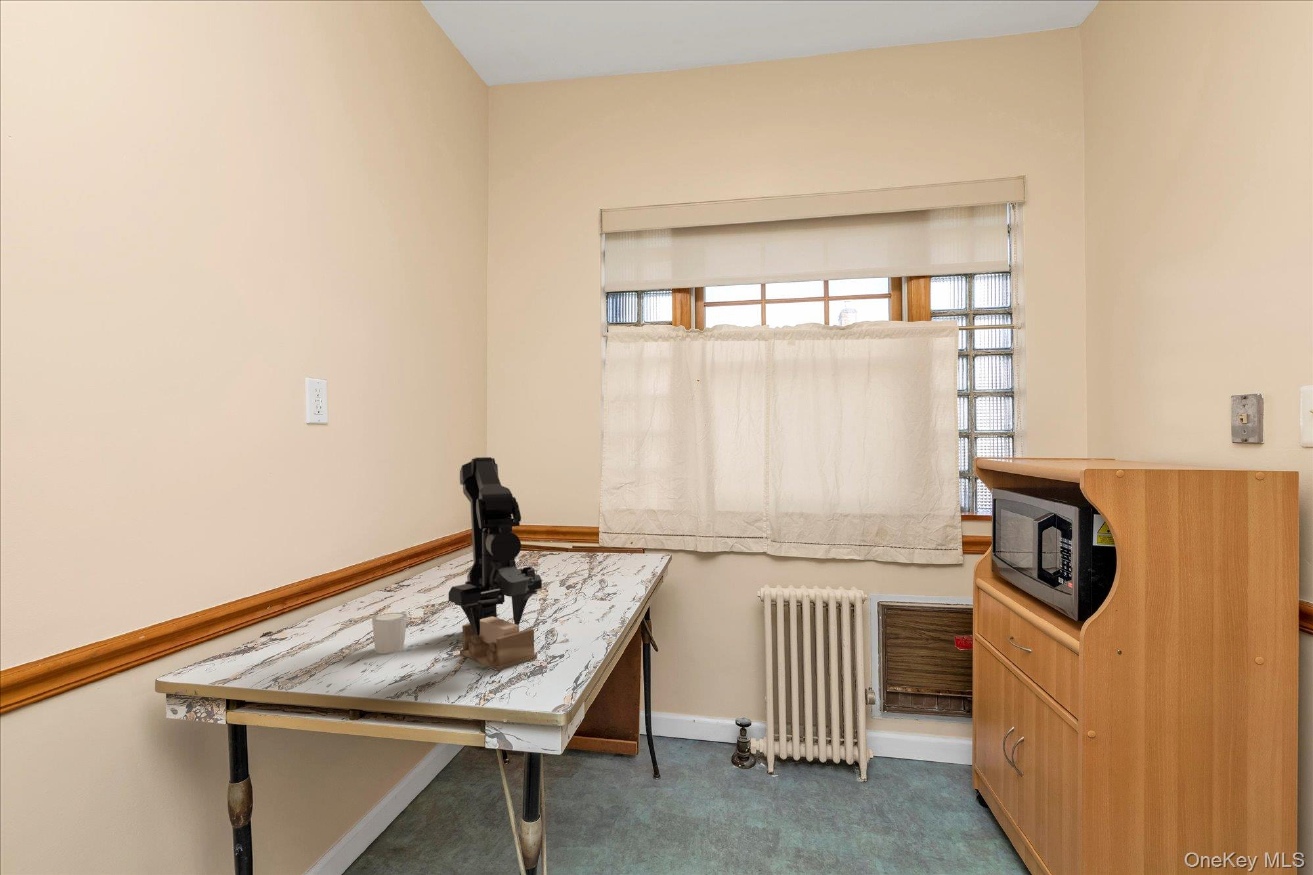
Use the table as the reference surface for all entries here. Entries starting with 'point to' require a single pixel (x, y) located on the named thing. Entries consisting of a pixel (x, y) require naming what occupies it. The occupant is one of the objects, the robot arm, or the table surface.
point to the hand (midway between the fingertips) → (497, 629)
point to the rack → (499, 648)
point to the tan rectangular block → (495, 629)
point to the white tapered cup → (389, 632)
